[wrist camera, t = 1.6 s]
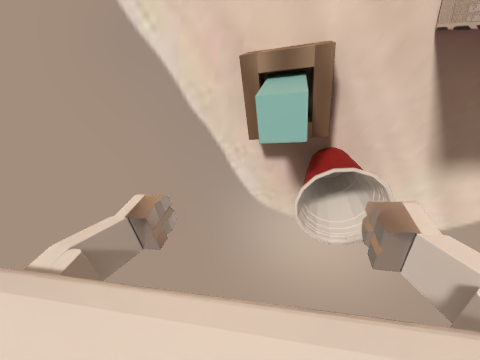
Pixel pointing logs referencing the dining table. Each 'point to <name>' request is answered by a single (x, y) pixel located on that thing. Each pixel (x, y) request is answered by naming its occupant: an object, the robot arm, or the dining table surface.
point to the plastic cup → (337, 197)
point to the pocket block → (285, 61)
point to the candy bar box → (459, 15)
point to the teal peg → (283, 108)
